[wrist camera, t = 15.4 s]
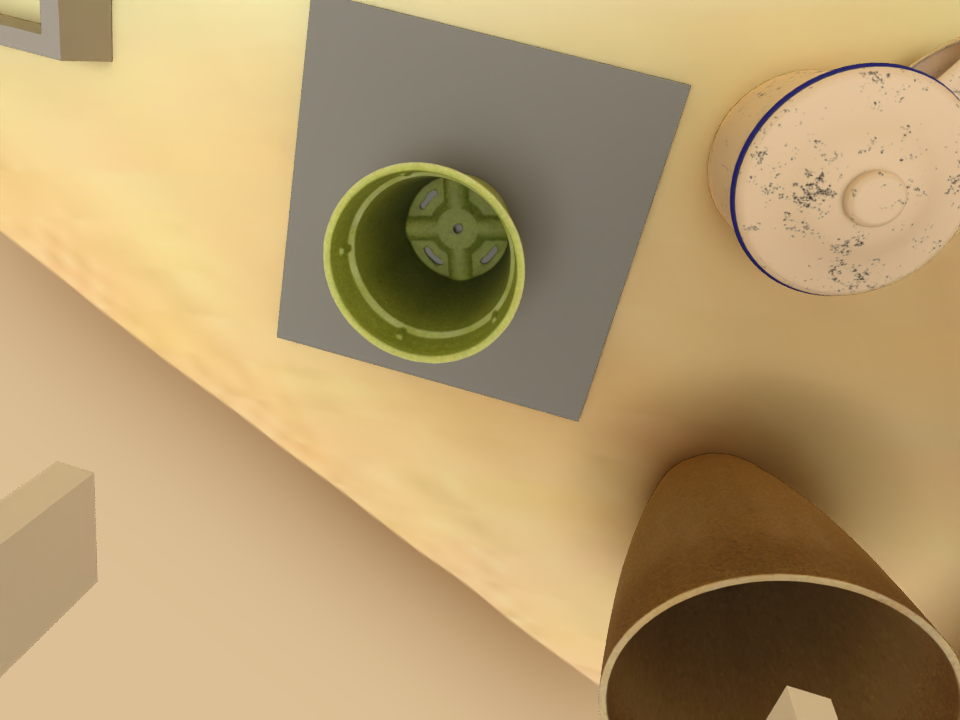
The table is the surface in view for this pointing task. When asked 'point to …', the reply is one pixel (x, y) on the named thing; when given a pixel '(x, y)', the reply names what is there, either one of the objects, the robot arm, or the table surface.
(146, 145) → the table surface
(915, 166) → the teacup with lid
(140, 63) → the table surface
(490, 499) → the table surface
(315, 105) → the charcoal mat
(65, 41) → the rock display frame
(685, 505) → the plant pot
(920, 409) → the table surface
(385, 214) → the plant pot
